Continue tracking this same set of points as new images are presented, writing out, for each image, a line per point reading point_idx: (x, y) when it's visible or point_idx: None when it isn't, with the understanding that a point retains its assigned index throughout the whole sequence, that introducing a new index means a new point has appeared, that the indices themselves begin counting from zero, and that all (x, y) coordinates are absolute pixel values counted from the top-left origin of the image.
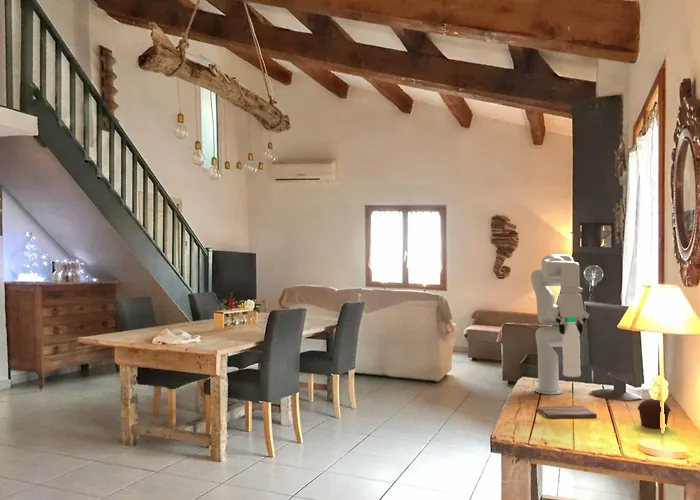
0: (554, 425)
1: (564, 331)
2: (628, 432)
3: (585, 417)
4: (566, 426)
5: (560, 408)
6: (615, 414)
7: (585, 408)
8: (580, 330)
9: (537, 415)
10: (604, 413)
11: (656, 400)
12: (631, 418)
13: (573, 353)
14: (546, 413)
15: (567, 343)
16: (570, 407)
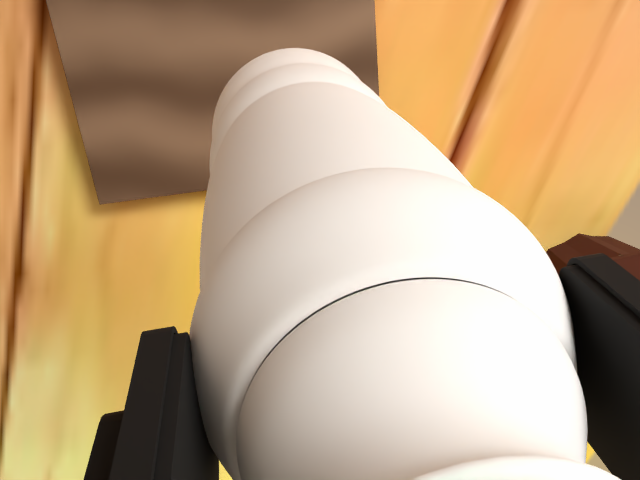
0: (123, 321)
1: (226, 468)
2: None
3: None
4: (179, 330)
5: (202, 38)
6: (509, 75)
7: (364, 29)
8: (599, 442)
9: (45, 130)
10: (459, 55)
11: None
12: (549, 157)
13: (320, 308)
14: (94, 175)
15: (260, 366)
16: (275, 4)
